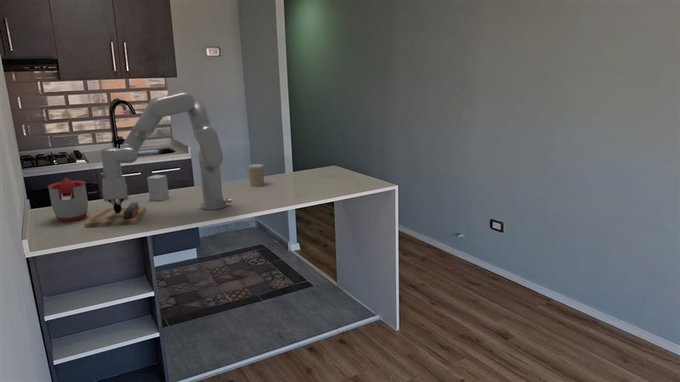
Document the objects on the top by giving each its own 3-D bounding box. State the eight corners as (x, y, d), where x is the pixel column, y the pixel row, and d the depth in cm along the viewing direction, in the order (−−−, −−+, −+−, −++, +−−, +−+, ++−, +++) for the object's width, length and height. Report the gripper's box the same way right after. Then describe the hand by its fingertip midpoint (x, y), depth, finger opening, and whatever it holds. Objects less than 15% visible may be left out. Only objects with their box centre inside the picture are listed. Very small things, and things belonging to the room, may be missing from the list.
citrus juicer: (51, 226, 217) (43, 184, 212) (55, 216, 233) (49, 176, 228) (89, 222, 223) (83, 180, 218) (91, 212, 239) (85, 172, 234)
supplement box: (169, 197, 263) (167, 175, 260) (160, 201, 256) (157, 178, 253) (158, 196, 266) (155, 174, 262) (149, 200, 259) (146, 177, 255)
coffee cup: (268, 184, 290) (267, 164, 287) (257, 187, 282) (256, 167, 279) (256, 182, 295) (255, 163, 292) (246, 185, 287) (244, 166, 284)
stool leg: (132, 208, 237) (131, 202, 236) (139, 207, 237) (138, 201, 236) (123, 218, 220) (122, 212, 219) (130, 218, 220) (129, 212, 220)
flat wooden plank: (146, 210, 240) (144, 199, 239) (136, 224, 220) (135, 212, 218) (99, 213, 237) (97, 202, 235) (84, 227, 216) (83, 216, 214)
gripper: (93, 177, 216) (98, 215, 221) (128, 175, 219) (133, 213, 223) (98, 173, 223) (103, 211, 228) (132, 171, 226) (136, 209, 230)
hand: (118, 212), depth 225 cm, fingers closed
